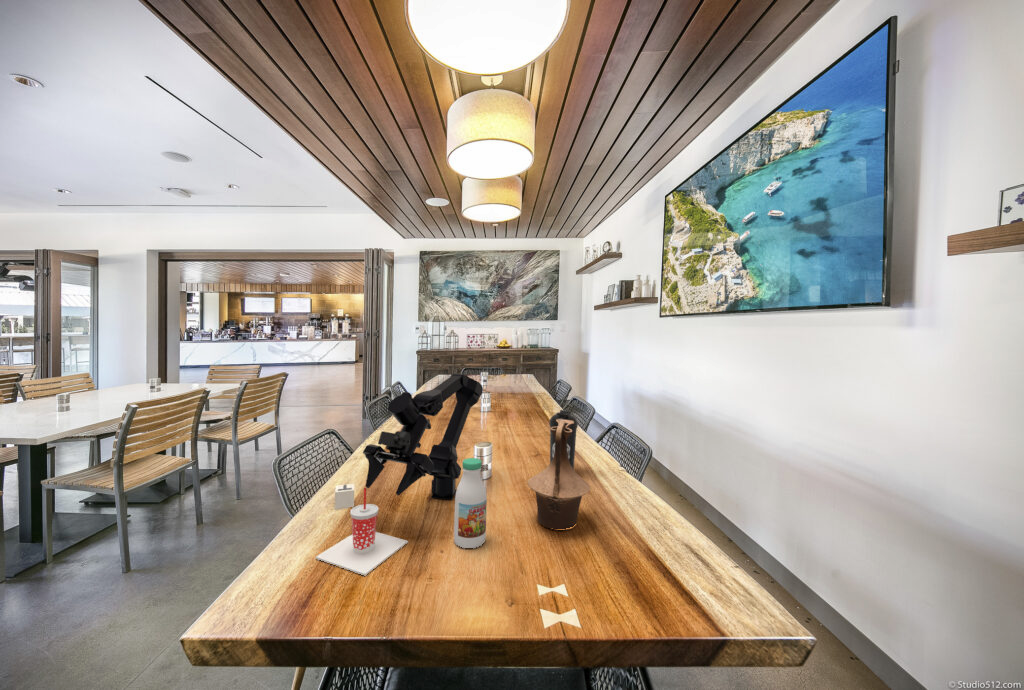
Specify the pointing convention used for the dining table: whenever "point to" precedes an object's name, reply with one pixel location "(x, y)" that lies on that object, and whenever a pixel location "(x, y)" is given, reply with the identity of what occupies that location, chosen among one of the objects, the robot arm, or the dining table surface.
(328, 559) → the mat
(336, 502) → the letter block
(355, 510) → the beverage cup
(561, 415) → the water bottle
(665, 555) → the dining table surface
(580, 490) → the pitcher
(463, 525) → the milk bottle
